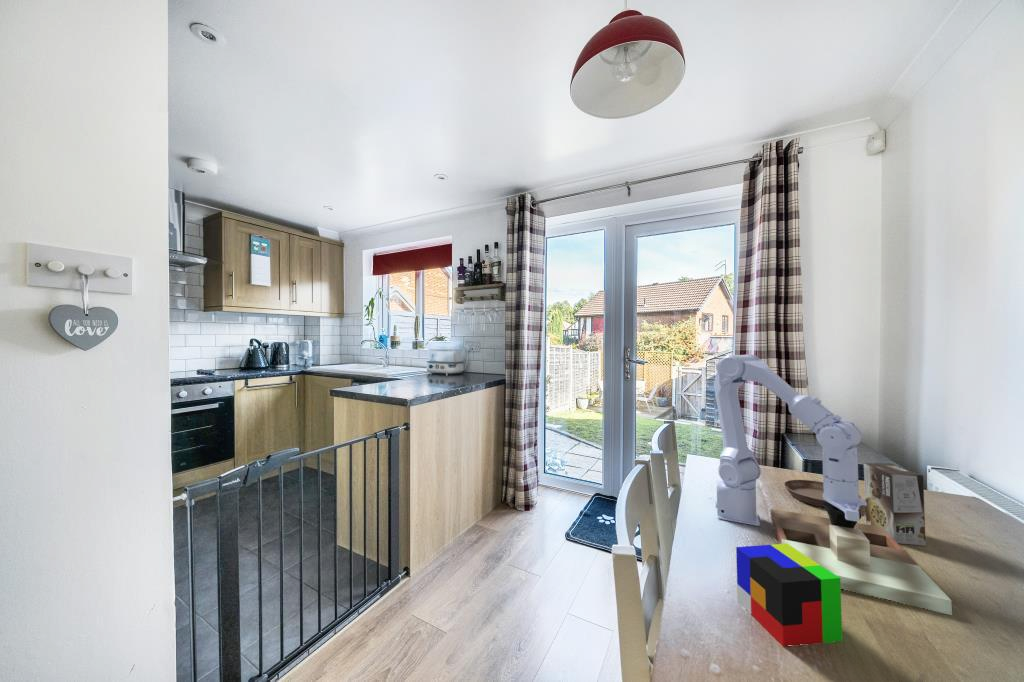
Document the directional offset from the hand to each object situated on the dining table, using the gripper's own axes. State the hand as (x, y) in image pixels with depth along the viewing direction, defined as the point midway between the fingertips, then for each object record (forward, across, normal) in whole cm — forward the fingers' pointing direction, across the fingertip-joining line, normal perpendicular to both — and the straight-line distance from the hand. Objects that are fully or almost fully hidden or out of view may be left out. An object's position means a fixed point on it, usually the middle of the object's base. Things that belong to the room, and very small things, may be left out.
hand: (842, 540), depth 78 cm
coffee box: (+4, +18, -14) cm, 23 cm away
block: (+1, -4, 0) cm, 4 cm away
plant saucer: (+4, +36, -4) cm, 36 cm away
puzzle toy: (+4, -27, +14) cm, 31 cm away
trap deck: (+4, +1, 0) cm, 4 cm away
